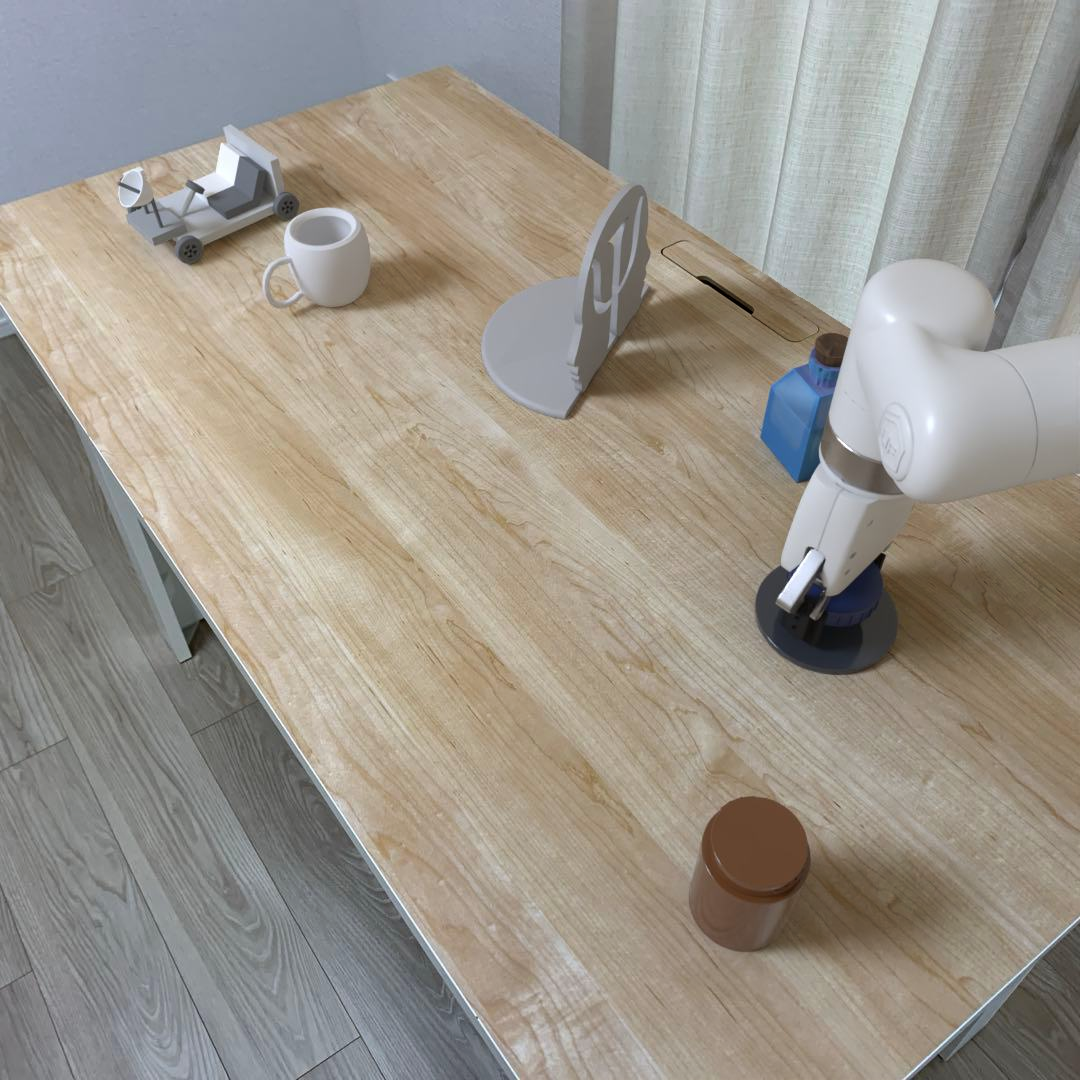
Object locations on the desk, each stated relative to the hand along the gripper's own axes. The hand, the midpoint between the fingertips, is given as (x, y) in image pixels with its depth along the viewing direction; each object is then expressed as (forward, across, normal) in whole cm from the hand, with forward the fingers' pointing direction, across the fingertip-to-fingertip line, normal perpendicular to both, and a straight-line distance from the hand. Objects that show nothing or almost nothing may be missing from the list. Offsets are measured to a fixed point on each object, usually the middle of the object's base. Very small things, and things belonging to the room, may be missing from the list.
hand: (827, 604), depth 81 cm
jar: (+1, +23, +9) cm, 25 cm away
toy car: (+2, +3, -82) cm, 82 cm away
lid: (-3, 0, 0) cm, 3 cm away
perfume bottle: (+2, -14, -12) cm, 18 cm away
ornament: (+2, -10, -40) cm, 41 cm away
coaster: (+1, 0, 0) cm, 1 cm away
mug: (+2, +2, -61) cm, 61 cm away
